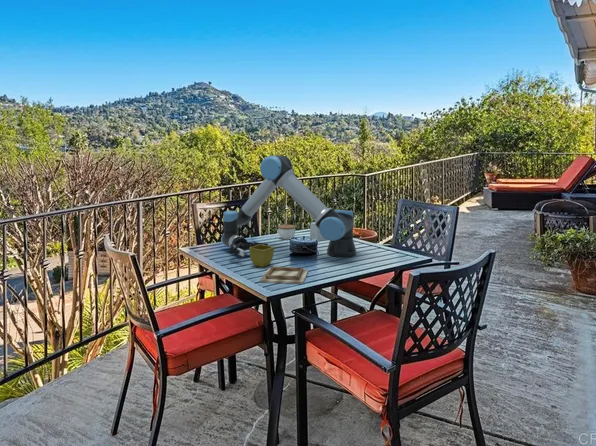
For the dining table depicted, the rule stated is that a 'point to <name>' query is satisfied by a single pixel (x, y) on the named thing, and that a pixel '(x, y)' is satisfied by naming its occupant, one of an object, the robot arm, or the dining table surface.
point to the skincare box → (315, 232)
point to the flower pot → (261, 255)
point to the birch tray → (284, 275)
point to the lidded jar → (286, 231)
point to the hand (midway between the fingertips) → (256, 251)
